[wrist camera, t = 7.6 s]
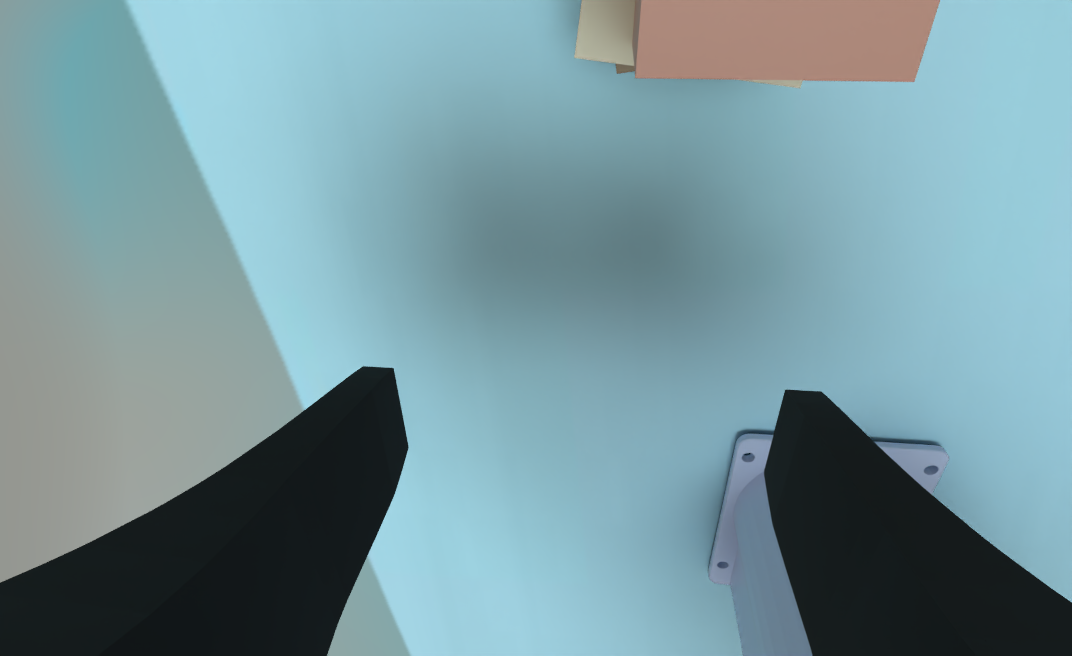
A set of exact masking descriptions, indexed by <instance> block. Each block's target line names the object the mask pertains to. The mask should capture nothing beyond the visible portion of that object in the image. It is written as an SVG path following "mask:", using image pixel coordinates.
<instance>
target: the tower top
mask: <svg viewBox="0 0 1072 656" xmlns="http://www.w3.org/2000/svg"><path fill="white" fill-rule="evenodd" d="M634 12H635V0H582V3H581V10H580V18H579V26H578V33H577V41H576V49H575V57H574V58H578V59H586V60H593V61H601V62H608V63H616V64H623V65H630V66H634V59H633V48H632V39H633V26H634ZM735 80H738V79H735ZM742 81H750V82H757V83H765V84H772V85H780V86H787V87H795V88H800V87H801V84H802V81H803V80H742Z"/></svg>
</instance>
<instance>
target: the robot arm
mask: <svg viewBox="0 0 1072 656" xmlns="http://www.w3.org/2000/svg"><path fill="white" fill-rule="evenodd" d="M407 451H408V442H407V437H406V431H405V426H404V421H403V416H402V410H401V405H400V400H399V395H398V389H397V384H396V379H395V373H394V368H383V367H365V366H363V367H362V368H360V369H359V370H357V371H356V372H354V373H353V374H352V375H350V376H349V377H348V378H346V379H345V380H344V381H342V382H341V383H340V384H338V385H337V386H336V387H334V388H333V389H332V390H331V391H329V392H328V393H327V394H325V395H324V396H323V397H321V398H320V399H319V400H318V401H316V402H315V403H314V404H312V405H311V406H310V407H308V408H307V409H306V410H304V411H303V412H302V413H300V414H299V415H298V416H296V417H295V418H294V419H293V420H291V421H290V422H288V423H287V424H286V425H284V426H283V427H282V428H281V429H279V430H278V431H276V432H275V433H274V434H272V435H271V436H269V437H268V438H266V439H265V440H263V441H262V442H261V443H259V444H258V445H256V446H255V447H253V448H252V449H250V450H249V451H248V452H246V453H245V454H243V455H242V456H240V457H239V458H237V459H236V460H234V461H233V462H232V463H230V464H229V465H227V466H226V467H224V468H223V469H221V470H220V471H218V472H216V473H215V474H213V475H212V476H210V477H208V478H207V479H205V480H204V481H202V482H200V483H199V484H197V485H195V486H194V487H192V488H190V489H189V490H187V491H185V492H183V493H182V494H180V495H178V496H177V497H175V498H173V499H172V500H170V501H168V502H166V503H165V504H163V505H161V506H159V507H157V508H155V509H154V510H152V511H150V512H148V513H146V514H144V515H142V516H140V517H138V518H136V519H134V520H132V521H131V522H129V523H127V524H125V525H123V526H121V527H119V528H117V529H115V530H113V531H111V532H109V533H107V534H105V535H103V536H101V537H99V538H97V539H96V540H94V541H92V542H90V543H88V544H86V545H83V546H81V547H79V548H77V549H75V550H73V551H71V552H69V553H66V554H64V555H62V556H60V557H58V558H56V559H53V560H51V561H49V562H47V563H45V564H42V565H40V566H38V567H36V568H33V569H31V570H29V571H26V572H24V573H22V574H19V575H17V576H15V577H12V578H10V579H8V580H6V581H3V582H1V583H0V656H327V654H328V651H329V648H330V645H331V642H332V639H333V636H334V633H335V630H336V627H337V624H338V622H339V619H340V617H341V615H342V612H343V610H344V607H345V604H346V602H347V599H348V597H349V595H350V593H351V591H352V589H353V586H354V584H355V582H356V580H357V577H358V575H359V573H360V571H361V569H362V566H363V564H364V562H365V560H366V558H367V555H368V553H369V551H370V549H371V547H372V544H373V542H374V540H375V538H376V535H377V533H378V531H379V529H380V526H381V524H382V522H383V520H384V517H385V515H386V513H387V511H388V508H389V506H390V504H391V501H392V499H393V497H394V494H395V491H396V488H397V485H398V482H399V479H400V475H401V472H402V469H403V465H404V461H405V458H406V454H407ZM745 453H752V454H750V455H746V456H745V455H744V454H745ZM948 461H949V456H948V454H947V452H946V451H945V449H944V448H942V447H941V446H936V445H922V444H906V443H890V442H875V441H873V440H872V439H871V438H869V437H868V436H867V435H866V434H865V433H864V432H863V431H862V430H861V429H860V428H859V427H858V426H857V425H856V424H855V423H854V422H853V421H852V420H851V419H850V418H849V417H848V416H847V415H846V414H845V413H844V412H843V411H842V410H841V409H840V408H838V407H837V406H836V405H835V404H834V403H833V402H832V401H831V400H830V399H829V398H828V397H827V396H826V395H825V394H823V393H822V392H818V391H800V390H785V393H784V396H783V400H782V404H781V408H780V412H779V416H778V419H777V423H776V427H775V431H774V435H765V434H744V435H742V436H740V437H739V438H738V439H737V441H736V445H735V450H734V454H733V459H732V464H731V468H730V473H729V477H728V482H727V487H726V491H725V496H724V500H723V505H722V510H721V514H720V519H719V523H718V528H717V533H716V537H715V542H714V546H713V551H712V556H711V560H710V565H709V569H708V573H709V579H710V580H711V581H712V582H714V583H717V584H726V585H731V590H732V596H733V601H734V607H735V613H736V618H737V624H738V629H739V635H740V640H741V646H742V652H743V656H1072V602H1070V601H1069V600H1067V599H1066V598H1064V597H1063V596H1061V595H1060V594H1059V593H1057V592H1056V591H1054V590H1053V589H1051V588H1050V587H1049V586H1047V585H1046V584H1044V583H1043V582H1042V581H1040V580H1039V579H1038V578H1036V577H1035V576H1034V575H1032V574H1031V573H1030V572H1028V571H1027V570H1025V569H1024V568H1023V567H1021V566H1020V565H1019V564H1017V563H1016V562H1015V561H1013V560H1012V559H1011V558H1009V557H1008V556H1007V555H1005V554H1004V553H1002V552H1001V551H1000V550H998V549H997V548H996V547H995V546H993V545H992V544H991V543H990V542H988V541H987V540H986V539H984V538H983V537H982V536H981V535H979V534H978V533H977V532H976V531H974V530H973V529H972V528H971V527H969V526H968V525H967V524H966V523H965V522H963V521H962V520H961V519H960V518H959V517H958V516H956V515H955V514H954V513H953V512H952V511H950V510H949V509H948V508H947V507H946V506H944V505H943V504H942V503H941V502H940V501H938V500H937V499H936V498H935V497H934V496H933V495H932V494H933V492H934V490H935V488H936V486H937V483H938V481H939V479H940V477H941V475H942V473H943V471H944V469H945V467H946V465H947V463H948ZM928 466H930V467H928ZM926 467H927V468H926Z"/></svg>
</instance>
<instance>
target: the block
mask: <svg viewBox="0 0 1072 656" xmlns="http://www.w3.org/2000/svg"><path fill="white" fill-rule="evenodd" d="M939 2H940V0H635V12H634V26H633V39H632V48H633V59H634V69H635V78H662V79H738V80H814V81H890V82H914V81H915V78H916V75H917V72H918V68H919V65H920V62H921V59H922V56H923V53H924V49H925V46H926V43H927V40H928V37H929V34H930V30H931V27H932V24H933V21H934V18H935V15H936V12H937V8H938V5H939Z"/></svg>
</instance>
